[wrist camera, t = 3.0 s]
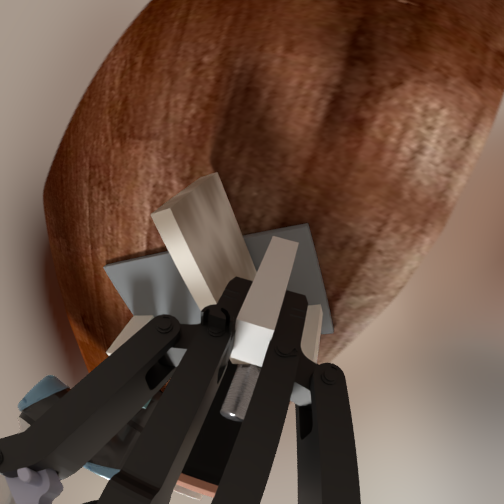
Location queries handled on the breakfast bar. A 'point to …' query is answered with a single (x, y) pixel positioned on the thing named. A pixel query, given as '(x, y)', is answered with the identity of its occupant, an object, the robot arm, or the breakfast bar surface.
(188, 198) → the gate
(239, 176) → the breakfast bar surface
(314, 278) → the mat
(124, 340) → the fence
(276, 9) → the breakfast bar surface
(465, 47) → the breakfast bar surface
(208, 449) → the coffee jar
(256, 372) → the hinge post
